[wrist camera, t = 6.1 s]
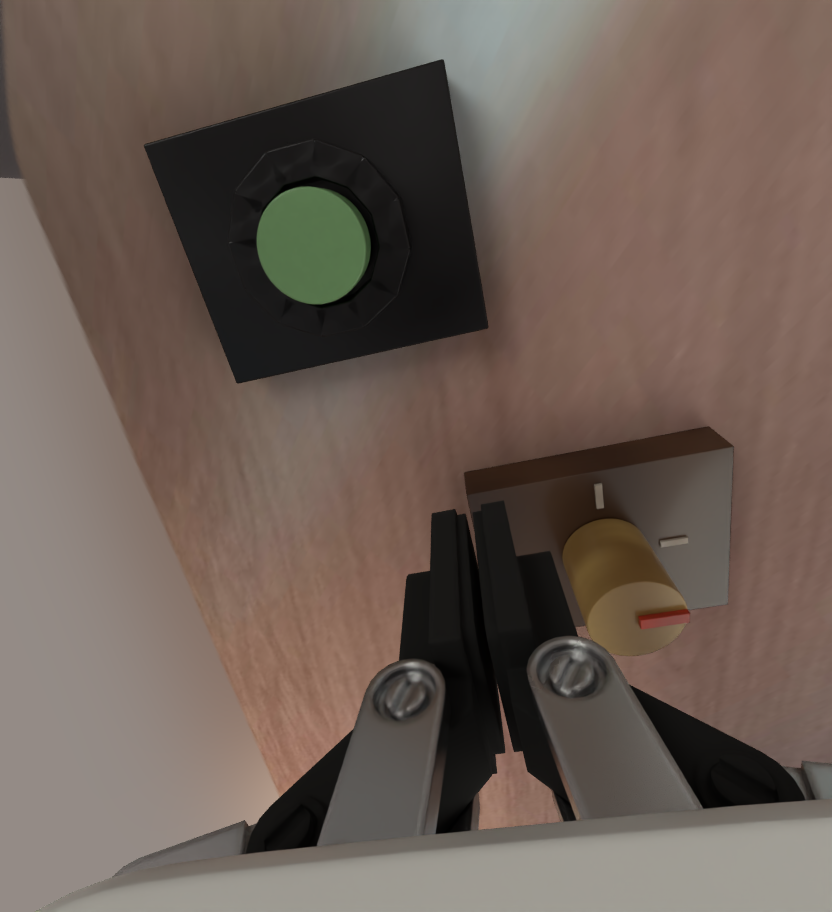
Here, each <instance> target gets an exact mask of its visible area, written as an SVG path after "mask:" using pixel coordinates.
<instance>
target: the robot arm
mask: <svg viewBox="0 0 832 912" xmlns="http://www.w3.org/2000/svg"><path fill="white" fill-rule="evenodd" d="M473 522H474V531H475V540H476V549H477V559H478V564H477V560H476V556H475V552H474V547H473V543H472V539H471V534H470V530H469V526H468V521H467V517H466V514H460V515H457V513H456V510H455V509H453V510H448V511H442V512H437V513H432V520H431V559H430V571H426V572H420V573H414V574H408V576H407V579H406V588H405V599H404V611H403V622H402V633H401V644H400V655H399V661H397V662H395V663H392V664H390V665H388V666H387V667H385V668H384V669H382V670H381V671H379V672H378V673H377V675H376V676H375V677H374V678H373V679H372V680H371V682H370V684H369V686H368V688H367V690H366V692H365V695H364V698H363V701H362V704H361V708H360V711H359V714H358V717H357V720H356V723H355V726H354V729H353V730H352V731H351V732H350V733H349V734H348V735H347V736H345V737H344V738H343V739H342V740H341V741H340V742H339V743H338V744H337V745H336V746H335V747H334V748H333V749H331V750H330V751H329V752H328V753H327V754H326V755H325V756H324V757H323V758H322V759H321V760H320V761H319V762H317V763H316V764H315V765H314V766H313V767H312V768H311V769H310V770H309V771H308V772H307V773H306V774H305V775H303V776H302V777H301V778H300V779H299V780H298V781H297V782H296V783H295V784H294V785H293V786H292V787H291V788H289V789H288V790H287V791H286V792H285V793H284V794H283V795H282V796H281V797H280V798H279V799H278V800H277V801H275V802H274V803H273V804H272V805H271V806H270V807H269V809H268V810H267V811H266V812H265V813H264V814H263V815H262V816H261V818H260V819H259V821H258V822H257V823H256V824H254V825H251V826H248V824H247V823H246V821H245V820H244V821H241V822H239V823H236V824H233V825H230V826H228V827H225V828H222V829H219V830H216V831H214V832H211V833H208V834H205V835H203V836H200V837H197V838H194V839H192V840H188V841H186V842H183V843H180V844H178V845H175V846H172V847H169V848H166V849H163V850H161V851H158V852H155V853H152V854H149V855H147V856H144V857H141V858H139V859H137V860H135V861H133V862H131V863H129V864H128V865H126V866H124V867H123V868H122V869H120V870H119V871H118V872H117V873H116V874H115V875H114V876H113V877H112V878H109V879H106V880H104V881H101V882H98V883H96V884H93V885H90V886H88V887H85V888H83V889H80V890H77V891H75V892H72V893H70V894H68V895H66V896H65V897H62V898H60V899H58V900H56V901H54V902H53V903H51V904H49V905H47V906H45V907H43V908H41V909H39V910H37V911H35V912H832V764H829V763H819V762H809V761H802V763H801V768H793V767H784V766H781V765H780V764H779V763H778V762H776V761H775V760H773V759H771V758H770V757H768V756H767V755H765V754H764V753H762V752H760V751H758V750H756V749H755V748H753V747H751V746H749V745H747V744H745V743H743V742H741V741H739V740H737V739H735V738H733V737H731V736H729V735H727V734H725V733H723V732H721V731H719V730H717V729H715V728H713V727H711V726H709V725H707V724H705V723H704V722H702V721H700V720H698V719H696V718H694V717H692V716H690V715H688V714H686V713H684V712H682V711H680V710H678V709H676V708H674V707H672V706H670V705H668V704H666V703H664V702H662V701H660V700H658V699H656V698H654V697H652V696H651V695H649V694H647V693H645V692H643V691H641V690H639V689H637V688H635V687H633V686H631V685H629V684H628V682H627V680H626V679H625V677H624V675H623V674H622V672H621V670H620V669H619V667H618V665H617V664H616V662H615V660H614V659H613V657H612V656H611V655H610V654H609V652H608V651H607V650H606V649H605V648H604V647H602V646H601V645H599V644H598V643H596V642H595V641H592V640H589V639H586V638H583V637H578V635H577V631H576V628H575V625H574V622H573V619H572V616H571V613H570V610H569V607H568V604H567V601H566V597H565V594H564V591H563V588H562V585H561V582H560V579H559V576H558V573H557V570H556V566H555V563H554V560H553V557H552V554H551V552H550V551H545V552H539V553H533V554H527V555H521V556H516V553H515V548H514V544H513V539H512V535H511V530H510V525H509V521H508V516H507V512H506V507H505V503H504V500H502V501H497V502H491V503H486V504H481V511H477V512H473ZM478 568H479V569H478ZM497 684H498V686H497ZM498 688H499V692H500V696H501V700H502V704H503V708H504V713H505V717H506V721H507V725H508V729H509V733H510V738H511V742H512V746H513V750H514V752H519V751H523V754H524V758H525V763H526V767H527V771H528V772H529V773H530V774H532V775H533V776H534V777H536V778H537V779H538V780H540V781H541V782H542V783H544V784H545V785H546V786H548V787H549V788H550V789H551V791H552V796H553V801H554V804H555V806H556V809H557V812H558V815H559V818H560V821H561V822H557V823H546V824H536V825H526V826H515V827H505V828H495V829H484V830H478V827H479V813H480V802H479V794H478V792H479V791H480V789H481V788H482V787H483V786H484V785H485V783H486V782H487V781H488V780H489V778H490V777H491V776H492V774H497V767H496V757H495V754H501V753H505V744H504V736H503V728H502V719H501V711H500V703H499V694H498Z"/></svg>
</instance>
